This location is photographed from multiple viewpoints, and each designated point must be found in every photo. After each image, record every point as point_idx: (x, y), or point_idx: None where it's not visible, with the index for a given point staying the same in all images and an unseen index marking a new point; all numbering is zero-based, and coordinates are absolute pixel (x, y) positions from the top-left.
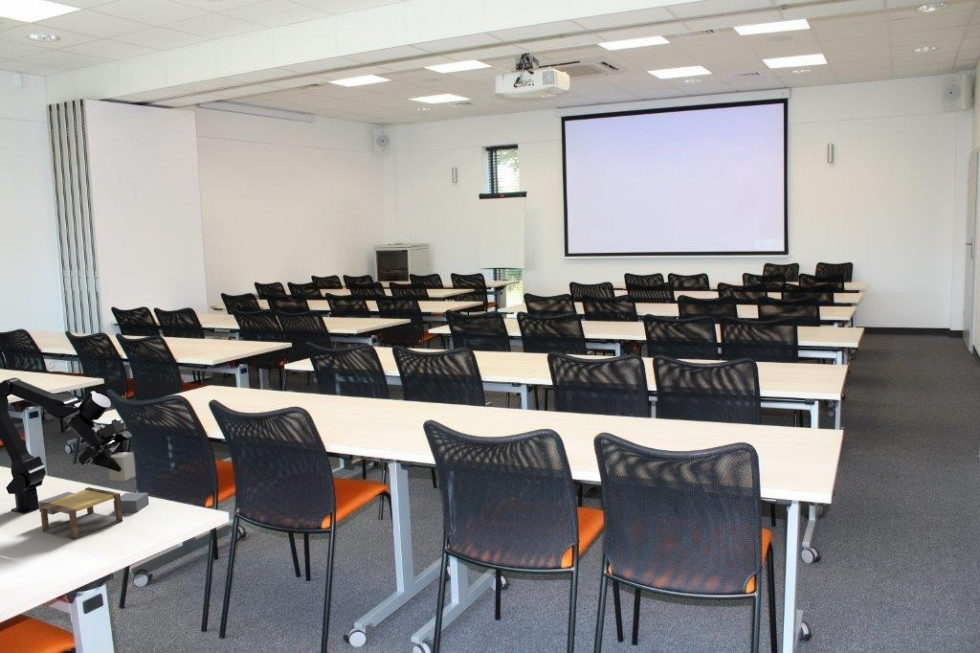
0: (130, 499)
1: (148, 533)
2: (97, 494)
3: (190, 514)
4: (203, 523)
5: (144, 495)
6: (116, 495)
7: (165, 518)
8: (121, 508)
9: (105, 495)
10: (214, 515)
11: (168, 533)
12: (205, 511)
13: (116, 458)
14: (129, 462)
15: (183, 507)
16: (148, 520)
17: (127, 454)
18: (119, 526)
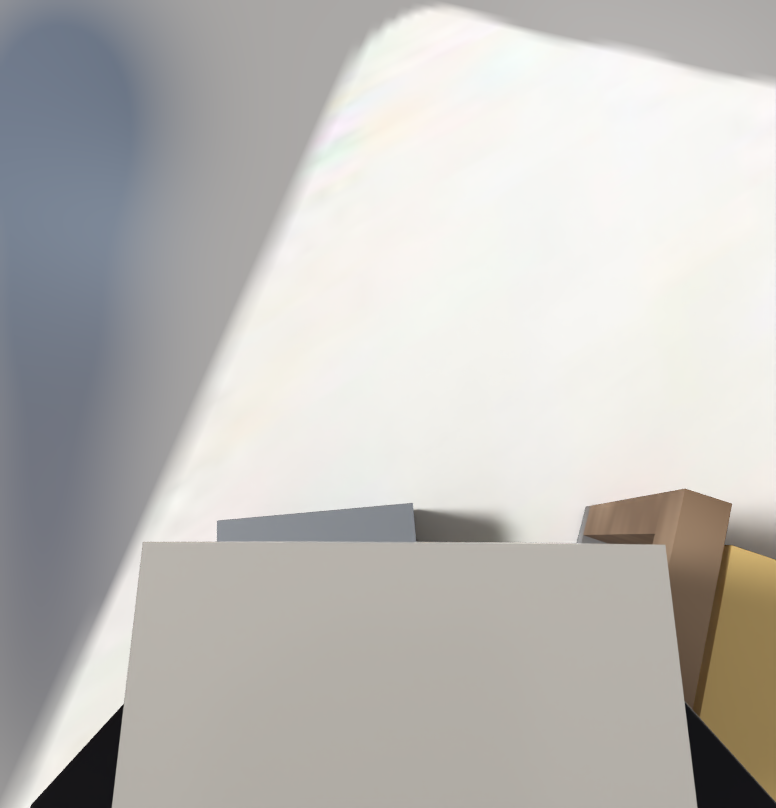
0: None
1: (725, 228)
2: (754, 773)
3: (407, 164)
4: (529, 37)
5: (277, 515)
6: (726, 504)
7: (486, 266)
8: (620, 501)
9: (762, 635)
10: (410, 42)
11: (697, 127)
12: (354, 112)
13: (673, 794)
14: (385, 542)
15: (295, 263)
16: (533, 349)
17: (341, 611)
18: (664, 476)
